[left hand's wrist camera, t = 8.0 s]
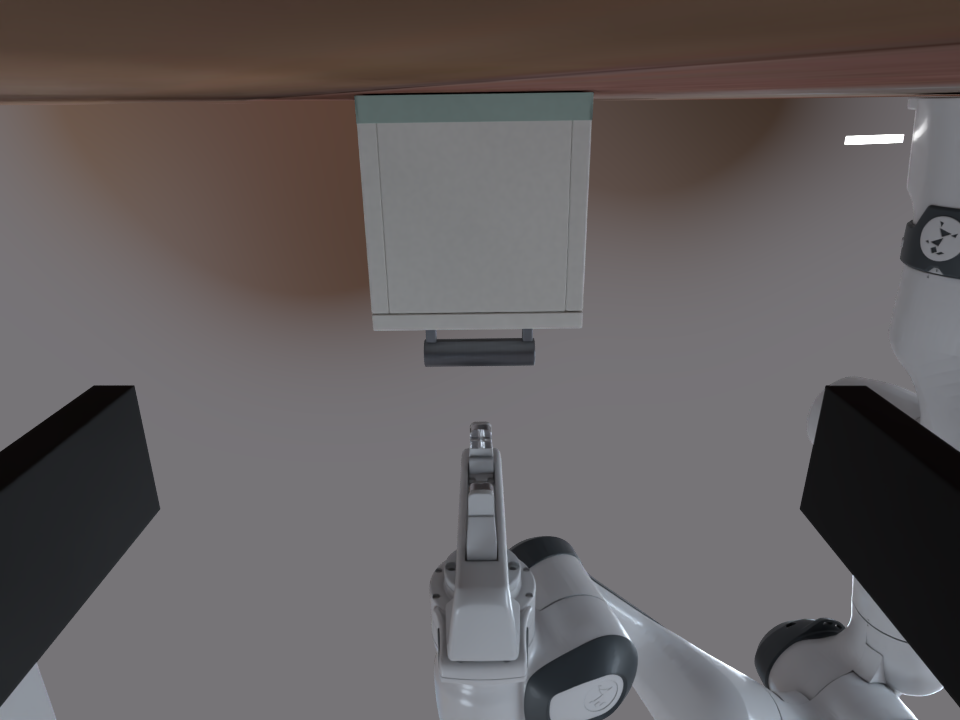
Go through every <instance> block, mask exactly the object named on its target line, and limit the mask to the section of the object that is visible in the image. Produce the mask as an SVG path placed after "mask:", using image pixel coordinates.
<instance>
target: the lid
mask: <svg viewBox="0 0 960 720" xmlns="http://www.w3.org/2000/svg"><path fill="white" fill-rule="evenodd" d="M582 318H583V312H582V310H581V311H566V310H565V311H538V312H460V313H378V314H373V315H372V322H373V330H374V331H383V330H426V340H425V341H424V362H425V366H426V367H441V366H521V365H534V364H535V341H534V338H532V336H533V329H541V328H582ZM461 329H522V338H493V339H437V333H436V330H461Z"/></svg>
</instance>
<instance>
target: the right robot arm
mask: <svg viewBox="0 0 960 720" xmlns="http://www.w3.org/2000/svg"><path fill="white" fill-rule="evenodd" d="M907 108H908V109H915V110H916V112H915V120H914V128H913V136H912V145H911V153H910V161H909V170H908V180H907V190H908V193H909V195H910V196H911V200H912V203H913V210H914V216H913V220H911V221H910V222H908V223H907V225H906V230H905V235H904V237H903V238H902V243H901V247H902V250H901V256H900V259H901V261H902V262H903V263H904V266H903V270H902V275H901V279H900V283H899V287H898V292H897V296H896V301H895V305H894V310H893V314H892V318H891V323H890V327H889V342H890V346H891V349H892V351H893V353H894V355H895V356H896V358H897V359H898V361H899V362H900V363H901V365H902V366H903V367H904V368H905V370H906V371H907V373H908V374H909V376H910V378H911V380H912V382H913V385H914V387H915V390H916V393H917V394H916V393H914V392H912V391H910V390H907V389H905V388H903V387H900V386H898V385H894V384H890V383H886V382H881V381H877V380H872V379H867V378H862V377H846V378H842V379H840V380H838V381H836V382H834V383H832V384H830V385H829V386H867V387H869V388H870V389H872V390H873V391H874V392H876V393H877V394H879V395H880V396H882V397H883V398H884V399H886V400H887V401H889V402H890V403H891V404H893V405H894V406H896V407H897V408H899V409H900V410H901V411H903V412H904V413H906V414H907V415H908V416H910V417H911V418H913V419H914V420H915V421H917V422H918V423H920V424H921V425H923V426H924V427H925V428H927V429H928V430H930V431H931V432H932V433H934V434H935V435H937V436H938V437H939V438H941V439H942V440H944V441H945V442H947V443H948V444H949V445H951V446H952V447H954V448H955V449H956V450H958V451H959V452H960V97H916V98H908V106H907ZM903 137H904V135H903V134H898V135H871V136H846V140H845V144H846V145H848V144H874V143H899V142H903ZM824 391H825V389H824V390H823V391H822V392H821V393H820V394H819V395H818V396H817V397H816V399H815V401H814V402H813V404H812V406H811V408H810V410H809V413H808V417H807V434H808V437H809V440H810V441H811V443H812V444H814V439H815V434H816V429H817V425H818V420H819V415H820V410H821V406H822V401H823V396H824ZM430 605H431V625H432V637H433V642H434V645H435V647H436V649H437V653H436V657H435V661H434V681H435V693H436V701H437V707H438V713H439V718H440V720H602V719H605V718H606V717H608V716H609V715H611V714H612V713H613V712H614V711H615V710H616V709H617V708H618V706H619V705H620V704H621V703H622V701H623V700H624V698H625V697H626V695H627V694H628V692H629V690H630V688H631V686H633V687H634V689H635V690H636V692H637V693H638V695H639V696H640V698H641V699H642V701H643V702H644V704H645V706H646V707H647V709H648V710H649V712H650V714H651V715H652V717H653V718H654V720H917V718H916V717H915V716H914V715H913V713H912V712H911V711H910V710H909V709H908V708H907V707H906V705H905V704H904V703H903V702H902V701H901V700H900V699H899V697H900V695H901V694H905V695H911V696H924V695H930V694H933V693H936V692H938V691H940V690H941V689H942V688H944V687H943V686H942V685H941V684H940V682H939V681H938V680H937V679H936V677H935V676H934V675H933V674H932V672H931V671H930V670H929V669H928V667H927V666H926V665H925V664H924V662H923V661H922V660H921V659H920V657H919V656H918V655H917V654H916V653H915V651H914V650H913V649H912V648H911V646H910V645H909V644H908V643H907V641H906V640H905V639H904V638H903V636H902V635H901V634H900V633H899V631H898V630H897V629H896V628H895V626H894V625H893V624H892V623H891V622H890V620H889V619H888V618H887V617H886V615H885V614H884V613H883V612H882V610H881V609H880V608H879V607H878V605H877V604H876V603H875V602H874V600H873V599H872V598H871V597H870V595H869V594H868V593H867V592H866V590H865V589H864V588H863V587H862V586H861V584H860V583H859V582H858V581H857V579H856V578H855V577H854V576H853V587H852V613H851V619H850V622H849V624H848V626H847V627H846V628H845V627H844V625H843V624H841V623H840V622H838V621H836V620H833V619H830V618H819V619H817V620H813V619H800V620H793V621H788V622H784V623H781V624H779V625H777V626H776V627H774V628H773V629H771V630H770V631H769V632H768V633H767V634H766V635H765V636H764V637H763V639H762V640H761V642H760V644H759V646H758V649H757V652H756V655H755V667H756V669H757V672H758V674H759V676H760V678H761V680H762V682H763V684H764V686H765V687H764V686H763V685H761V684H759V683H758V682H756V681H754V680H753V679H751V678H749V677H748V676H746V675H744V674H742V673H741V672H739V671H737V670H735V669H733V668H732V667H730V666H728V665H726V664H725V663H723V662H721V661H720V660H718V659H716V658H714V657H712V656H711V655H709V654H707V653H706V652H704V651H702V650H701V649H699V648H697V647H696V646H694V645H693V644H691V643H690V642H688V641H686V640H685V639H683V638H682V637H680V636H678V635H677V634H675V633H673V632H672V631H670V630H668V629H667V628H665V627H664V626H662V625H661V624H659V623H658V622H656V621H655V620H653V619H652V618H651V617H649V616H648V615H647V614H645V613H644V612H642V611H641V610H639V609H638V608H637V607H635V606H634V605H632V604H631V603H629V602H628V601H626V600H625V599H623V598H622V597H620V596H619V595H618V594H616V593H615V592H613V591H612V590H610V589H609V588H607V587H606V586H604V585H603V584H601V583H600V582H599V581H597V580H596V579H594V578H593V577H592V576H590V575H589V574H588V573H587V572H586V571H585V569H584V568H583V565H582V563H581V561H580V559H579V557H578V556H577V554H576V552H575V551H574V549H573V548H572V546H571V545H570V544H569V543H568V542H566V541H565V540H563V539H560V538H557V537H551V536H542V537H534V538H530V539H526V540H524V541H521V542H519V543H518V544H516V545H514V546H513V547H512V548H510V549H509V550H508V549H507V542H506V526H505V511H504V495H503V479H502V463H501V454H500V451H499V450H498V449H496V448H492V433H491V424H490V423H489V422H473V423H472V424H471V425H470V448H468V449H465V450H464V451H463V453H462V459H461V478H460V498H459V518H458V537H457V550H456V551H454V552H453V553H452V554H451V555H450V556H449V557H448V558H447V560H446V561H444V562H443V563H442V564H441V565H440V566H439V567H438V568H437V569H436V570H435V572H434V573H433V575H432V578H431V581H430ZM835 625H837V626H835Z"/></svg>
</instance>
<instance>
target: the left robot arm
mask: <svg viewBox="0 0 960 720" xmlns="http://www.w3.org/2000/svg"><path fill="white" fill-rule="evenodd" d="M159 510H160V506H159V501H158V496H157V492H156V487H155V482H154V477H153V472H152V468H151V463H150V458H149V453H148V449H147V444H146V439H145V434H144V429H143V425H142V420H141V415H140V410H139V406H138V401H137V396H136V391H135V387H134V386H93V387H91V388H90V389H88V390H87V391H86V392H84V393H83V394H81V395H80V396H79V397H77V398H76V399H74V400H73V401H71V402H70V403H69V404H67V405H66V406H64V407H63V408H61V409H60V410H59V411H57V412H56V413H54V414H53V415H52V416H50V417H49V418H47V419H46V420H45V421H43V422H42V423H40V424H39V425H38V426H36V427H35V428H33V429H32V430H30V431H29V432H28V433H26V434H25V435H23V436H22V437H21V438H19V439H18V440H16V441H15V442H13V443H12V444H11V445H9V446H8V447H6V448H5V449H4V450H2V451H1V452H0V707H1V706H2V705H3V703H4V702H5V701H6V700H7V698H8V697H9V696H10V695H11V693H12V692H13V691H14V690H15V688H16V687H17V686H18V685H19V684H20V682H21V681H22V680H23V679H24V677H25V676H26V675H27V674H28V672H29V671H30V670H31V669H32V667H33V666H34V665H35V664H36V662H37V661H38V660H39V659H40V657H41V656H42V655H43V654H44V652H45V651H46V650H47V649H48V648H49V646H50V645H51V644H52V643H53V641H54V640H55V639H56V638H57V636H58V635H59V634H60V633H61V631H62V630H63V629H64V628H65V626H66V625H67V624H68V623H69V621H70V620H71V619H72V618H73V617H74V615H75V614H76V613H77V612H78V610H79V609H80V608H81V607H82V605H83V604H84V603H85V602H86V600H87V599H88V598H89V597H90V595H91V594H92V593H93V592H94V590H95V589H96V588H97V587H98V586H99V584H100V583H101V582H102V580H103V579H104V578H105V577H106V576H107V574H108V573H109V572H110V571H111V569H112V568H113V567H114V566H115V564H116V563H117V562H118V561H119V559H120V558H121V557H122V556H123V555H124V553H125V552H126V551H127V550H128V548H129V547H130V546H131V544H132V543H133V542H134V541H135V540H136V538H137V537H138V536H139V535H140V533H141V532H142V531H143V530H144V528H145V527H146V526H147V525H148V524H149V522H150V521H151V520H152V519H153V517H154V516H155V515H156V514H157V512H158V511H159ZM800 510H801V511H802V512H803V514H804V515H805V516H806V517H807V519H808V520H809V521H810V522H811V523H812V525H813V526H814V527H815V528H816V530H817V531H818V532H819V533H820V535H821V536H822V537H823V538H824V540H825V541H826V542H827V543H828V545H829V546H830V547H831V548H832V550H833V551H834V552H835V553H836V555H837V556H838V557H839V558H840V559H841V561H842V562H843V563H844V564H845V566H846V567H847V568H848V569H849V571H850V572H851V573H852V574H853V576H854V577H855V578H856V579H857V581H858V582H859V583H860V584H861V586H862V587H863V588H864V589H865V590H866V592H867V593H868V594H869V595H870V597H871V598H872V599H873V600H874V602H875V603H876V604H877V605H878V607H879V608H880V609H881V610H882V612H883V613H884V614H885V615H886V617H887V618H888V619H889V620H890V622H891V623H892V624H893V625H894V626H895V628H896V629H897V630H898V631H899V633H900V634H901V635H902V636H903V638H904V639H905V640H906V641H907V643H908V644H909V645H910V646H911V648H912V649H913V650H914V651H915V653H916V654H917V655H918V656H919V657H920V659H921V660H922V661H923V662H924V664H925V665H926V666H927V667H928V669H929V670H930V671H931V672H932V674H933V675H934V676H935V677H936V679H937V680H938V681H939V682H940V684H941V685H942V686H943V687H944V688H945V690H946V691H947V692H948V693H949V695H950V696H951V697H952V698H953V700H954V701H955V702H956V703H957V705H958V706H959V707H960V452H959V451H958V450H956V449H955V448H954V447H952V446H951V445H949V444H948V443H947V442H945V441H944V440H942V439H941V438H939V437H938V436H937V435H935V434H934V433H932V432H931V431H930V430H928V429H927V428H925V427H924V426H923V425H921V424H920V423H918V422H917V421H915V420H914V419H913V418H911V417H910V416H908V415H907V414H906V413H904V412H903V411H901V410H900V409H899V408H897V407H896V406H894V405H893V404H891V403H890V402H889V401H887V400H886V399H884V398H883V397H882V396H880V395H879V394H877V393H876V392H874V391H873V390H872V389H870V388H869V387H867V386H826V387H825V391H824V396H823V401H822V406H821V410H820V415H819V420H818V425H817V429H816V434H815V439H814V444H813V449H812V453H811V458H810V463H809V468H808V472H807V477H806V482H805V487H804V492H803V496H802V501H801V506H800Z"/></svg>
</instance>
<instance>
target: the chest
mask: <svg viewBox="0 0 960 720" xmlns="http://www.w3.org/2000/svg"><path fill="white" fill-rule="evenodd" d="M593 93H594V92H569V93H501V94H433V95H364V96H354V98H355V110H356V123H357V130H358V143H359V155H360V168H361V181H362V194H363V206H364V219H365V232H366V245H367V258H368V270H369V283H370V296H371V309H372V313H373V314H378V313H460V312H538V311H565V310H566V311H581V310H583V295H584V273H585V252H586V230H587V208H588V188H589V166H590V145H591V123H592V114H593Z"/></svg>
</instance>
